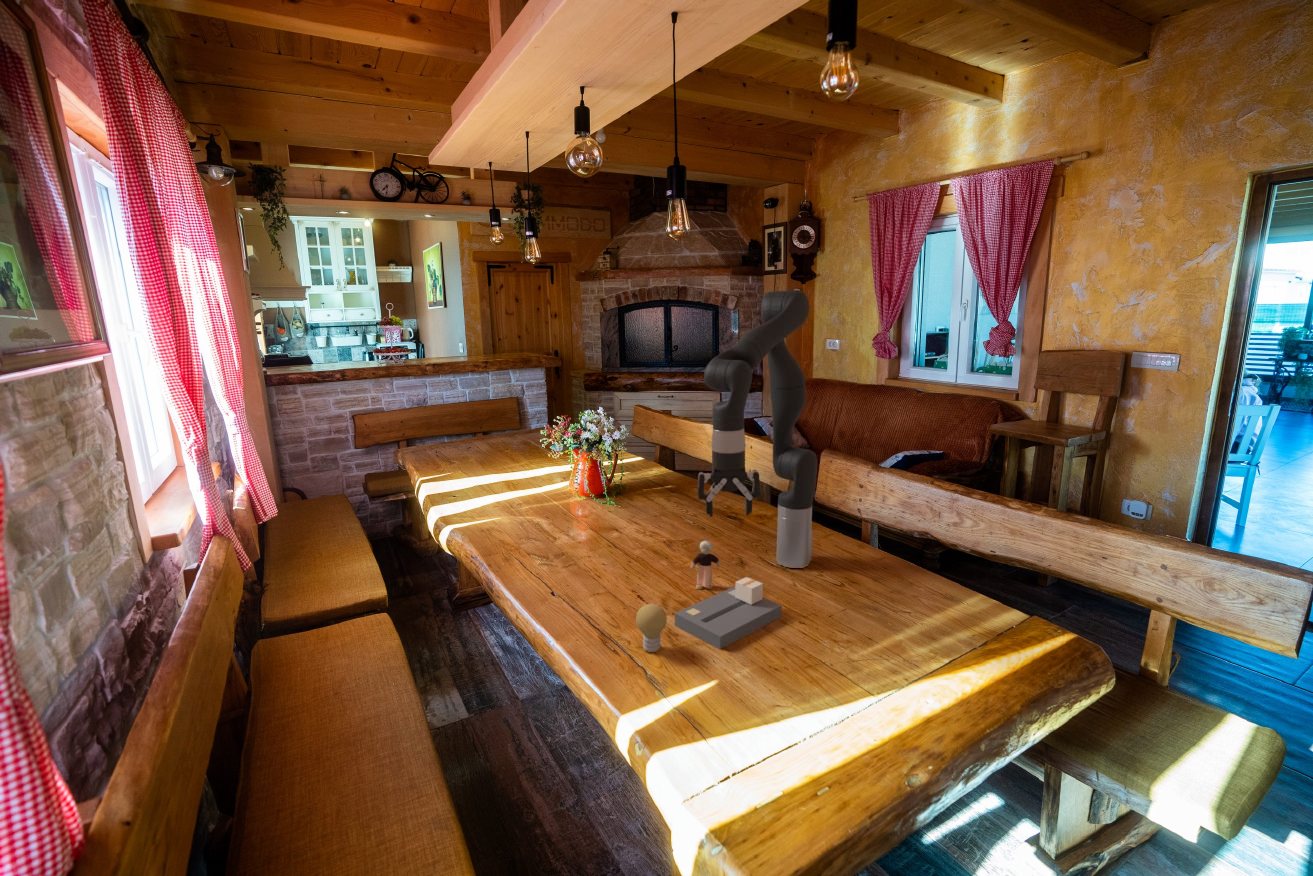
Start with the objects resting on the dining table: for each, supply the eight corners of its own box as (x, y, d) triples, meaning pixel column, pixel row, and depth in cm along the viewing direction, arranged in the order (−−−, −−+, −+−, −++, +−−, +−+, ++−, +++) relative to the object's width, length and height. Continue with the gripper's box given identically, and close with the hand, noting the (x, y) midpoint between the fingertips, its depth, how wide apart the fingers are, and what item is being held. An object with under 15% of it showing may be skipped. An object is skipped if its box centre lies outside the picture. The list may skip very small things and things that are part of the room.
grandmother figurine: (694, 592, 160) (694, 545, 157) (689, 585, 164) (689, 539, 161) (722, 588, 162) (723, 541, 159) (717, 582, 166) (717, 536, 163)
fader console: (736, 596, 157) (736, 585, 156) (781, 616, 147) (781, 604, 146) (674, 625, 144) (674, 612, 143) (720, 649, 133) (720, 636, 133)
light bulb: (649, 638, 138) (649, 596, 136) (672, 647, 134) (672, 604, 132) (630, 650, 133) (629, 606, 131) (653, 660, 129) (653, 616, 127)
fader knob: (746, 592, 152) (746, 576, 151) (762, 599, 149) (763, 583, 148) (735, 597, 150) (735, 581, 149) (751, 604, 146) (751, 588, 145)
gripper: (756, 442, 147) (756, 508, 150) (695, 444, 146) (696, 510, 150) (762, 450, 139) (762, 519, 143) (698, 452, 139) (699, 522, 143)
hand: (728, 515), depth 147 cm, fingers open, 8 cm apart
